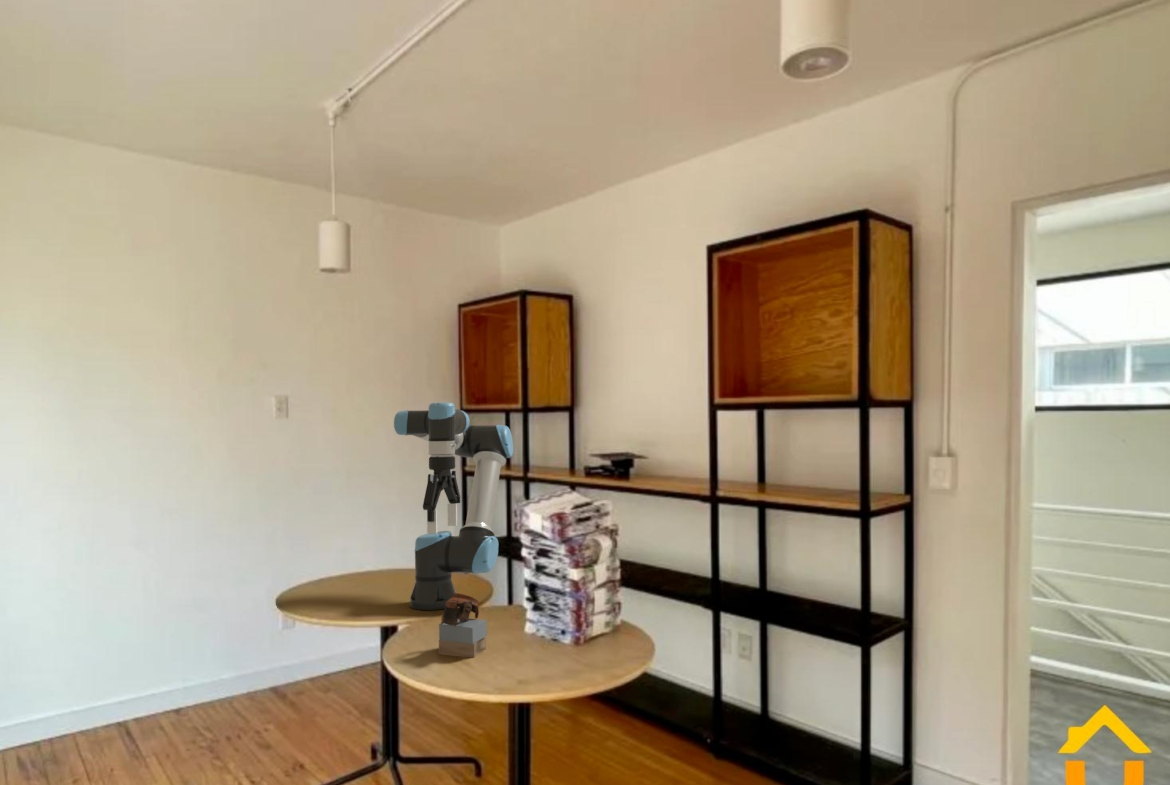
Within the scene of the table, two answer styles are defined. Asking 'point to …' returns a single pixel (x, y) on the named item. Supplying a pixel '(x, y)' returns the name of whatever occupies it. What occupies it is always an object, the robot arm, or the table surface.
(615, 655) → the table surface
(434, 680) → the table surface
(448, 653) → the walnut block
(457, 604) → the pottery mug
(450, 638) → the blue-grey block
